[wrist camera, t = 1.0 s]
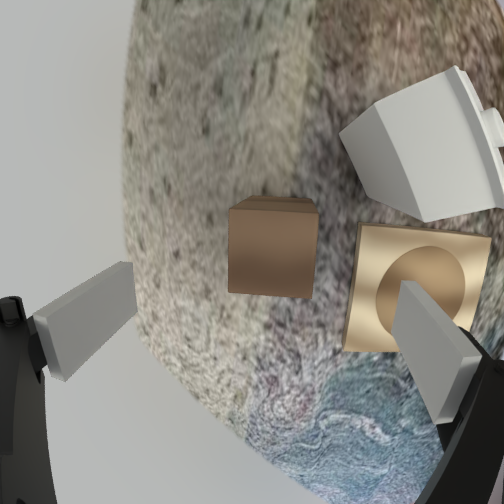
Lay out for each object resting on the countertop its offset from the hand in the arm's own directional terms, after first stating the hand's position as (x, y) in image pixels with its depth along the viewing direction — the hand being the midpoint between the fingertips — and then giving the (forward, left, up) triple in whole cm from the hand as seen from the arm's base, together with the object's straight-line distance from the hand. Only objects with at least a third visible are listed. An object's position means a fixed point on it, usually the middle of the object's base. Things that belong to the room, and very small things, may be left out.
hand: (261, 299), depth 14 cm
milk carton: (-8, +10, -18) cm, 23 cm away
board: (+6, +16, -18) cm, 25 cm away
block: (0, 0, -18) cm, 18 cm away
